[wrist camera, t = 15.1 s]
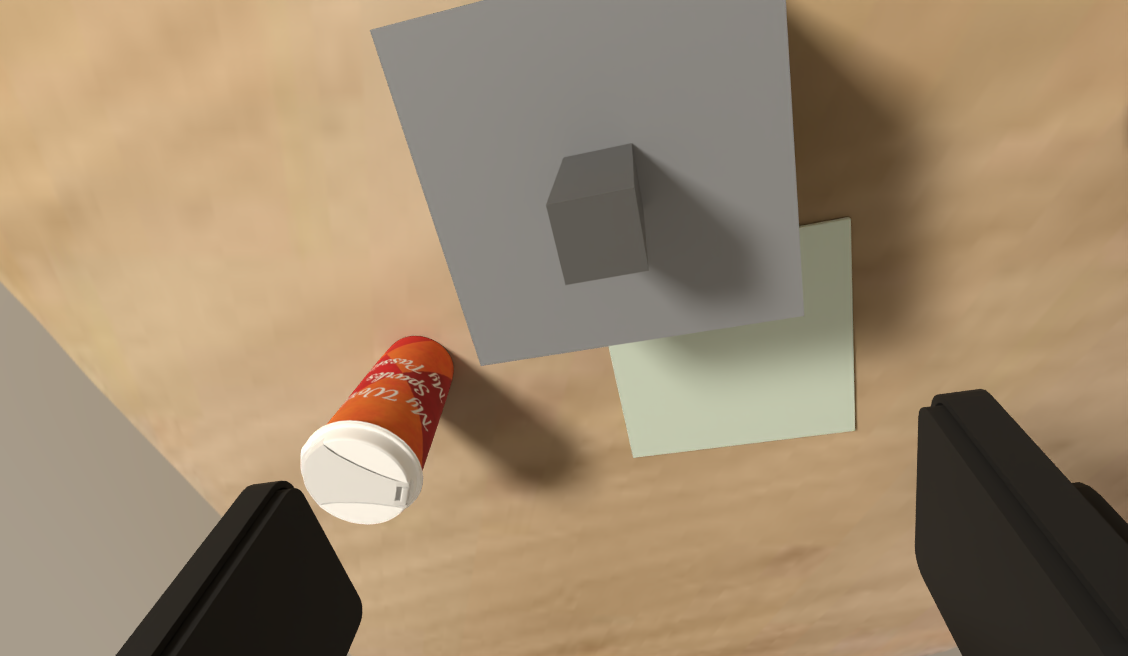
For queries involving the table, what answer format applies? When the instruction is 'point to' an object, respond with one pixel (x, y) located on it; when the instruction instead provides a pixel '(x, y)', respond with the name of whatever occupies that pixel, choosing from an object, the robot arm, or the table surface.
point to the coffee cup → (380, 435)
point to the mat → (750, 367)
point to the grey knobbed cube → (604, 166)
